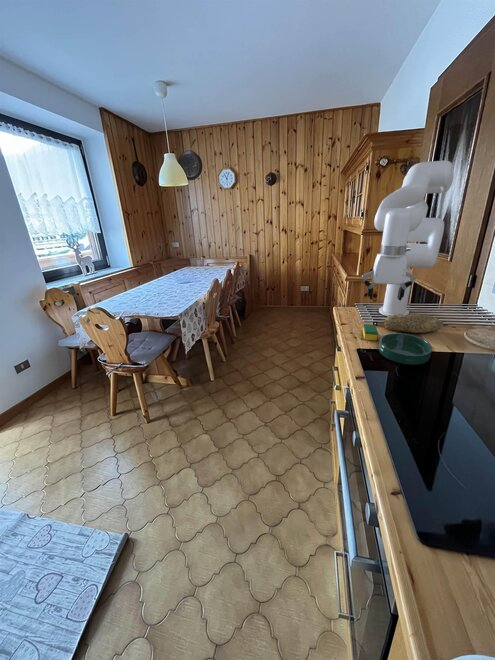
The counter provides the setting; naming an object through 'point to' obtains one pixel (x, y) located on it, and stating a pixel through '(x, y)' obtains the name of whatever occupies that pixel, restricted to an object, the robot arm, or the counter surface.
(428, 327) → the sponge
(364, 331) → the small sponge
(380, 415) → the counter surface
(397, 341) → the bowl
